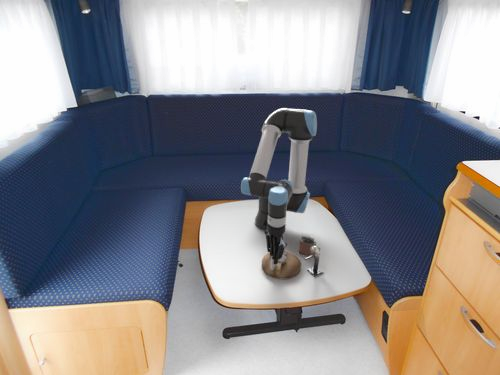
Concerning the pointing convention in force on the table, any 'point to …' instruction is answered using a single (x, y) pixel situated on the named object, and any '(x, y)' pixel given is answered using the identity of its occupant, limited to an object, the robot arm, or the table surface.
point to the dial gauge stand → (315, 261)
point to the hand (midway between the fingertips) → (273, 268)
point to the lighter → (306, 245)
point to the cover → (283, 259)
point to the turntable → (281, 271)
